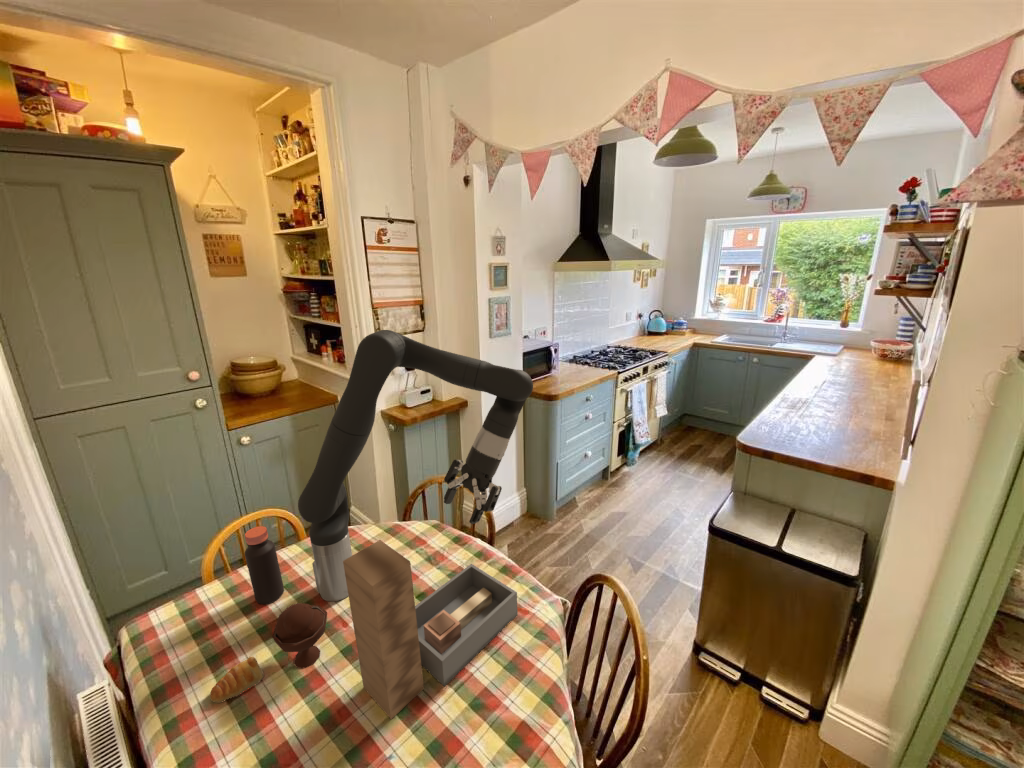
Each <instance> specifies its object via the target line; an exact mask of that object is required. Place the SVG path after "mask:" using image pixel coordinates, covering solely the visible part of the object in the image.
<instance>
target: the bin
mask: <svg viewBox="0 0 1024 768" xmlns="http://www.w3.org/2000/svg"><path fill="white" fill-rule="evenodd" d="M482 588H485V589H486V590H488V591H489V592H491V593H492V603H491V604H490V605H489V606H488V607H487V608H485V609H484V610H483V611H482V612H481V613H480V614H479V615H477V616H476V617H475V618H474V619H473V620H472V621H470V622H469V623H468V624H467V625H466V626H465V627H463V628H462V629H461V637H460V638H459V639H458V640H457V641H456V642H455V643H453V644H452V645H451V646H450V647H449V648H448V649H447V650H445V651H444V652H443V653H442V654H441V653H440V652H439V651H438V650H436V649H435V648H434V647H433V646H432V645H431V644H430V643H429V642H428V641H427V640H425V635H424V625H425V624H426V623H427V622H429V621H430V620H431V619H432V618H434V617H435V616H436V615H438V614H439V613H440V612H441V611H443V610H445V611H446V612H447V613H448V614H451V613H453V612H454V611H455V610H456V609H458V608H459V607H460V606H461V605H463V604H464V603H465V602H466V601H467V600H469V599H470V598H471V597H472V596H474V595H475V594H476V593H477V592H479V591H480V590H481V589H482ZM415 610H416V620H417V629H418V638H419V648H420V657H421V666H422V667H423V668H424V669H425V670H426V671H427V672H428V673H429V674H430V675H431V676H432V677H433V678H435V680H436V681H438V682H439V683H440V684H441V685H442V686H443V687H446V686H447V685H448V684H449V683H450V682H451V681H452V680H453V679H454V678H455V677H456V676H457V675H458V674H460V672H461V671H462V670H463V669H464V668H465V667H466V666H467V665H469V663H470V662H471V661H472V660H473V659H474V658H475V657H477V656H478V654H479V653H481V651H482V650H483V649H485V648H486V646H488V644H489V643H491V642H492V640H494V639H495V638H496V637H497V636H498V635H499V634H500V633H499V632H502V631H503V630H502V629H503V628H504V629H505V628H506V627H507V626H508V625H509V624H510V623H511V622H512V621H514V619H515V618H516V617H517V616H518V592H517V591H516V590H514V589H512V588H511V587H509V586H508V585H506V584H505V583H503V582H501V581H500V580H498V579H496V578H495V577H494V576H492V575H490V574H489V573H487V572H486V571H484V570H482V569H481V568H479V567H477V566H476V565H475V564H472V563H471V564H469V565H467V566H466V567H465V568H463V570H461V571H459V572H458V573H457V574H455V575H454V576H452V578H450V579H449V580H447V582H445V583H444V584H442V585H441V586H440V587H438V588H437V589H436V590H435V591H433V592H432V593H430V594H429V595H428V596H426V597H425V598H424V599H422V600H421V601H420V602H418V603H417V604H415ZM510 621H511V622H510ZM509 622H510V623H509ZM508 623H509V624H508ZM507 624H508V625H507ZM506 625H507V626H506ZM505 626H506V627H505ZM498 633H499V634H498Z"/></svg>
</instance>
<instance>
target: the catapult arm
mask: <svg viewBox="0 0 1024 768" xmlns="http://www.w3.org/2000/svg"><path fill="white" fill-rule="evenodd" d="M491 603H492V593H491V592H489V591H488V590H486V589H485V588H482V589H481V590H480V591H479V592H477V593H476V594H475V595H474V596H472V597H471V598H470V599H469V600H467V601H466V602H465V603H464V604H463V605H461V606H460V607H459V608H458V609H456V610H455V611H454V612H453V613H451V614H448V613H447V612H446V611H445V610H443V611H441V612H440V613H439V614H438V615H436V616H435V617H434V618H432V619H431V620H430V621H429V622H427V623H426V624H425V625H424V635H425V640H427V641H428V642H429V643H430V644H431V645H432V646H433V647H434V648H435V649H436V650H438V651H439V652H440V653H441V654H442V653H443V652H444V651H445V650H447V649H448V648H449V647H450V646H451V645H452V644H453V643H455V642H456V641H457V640H458V639H459V638H460V637H461V629H462V628H463V627H465V626H466V625H467V624H468V623H469V622H470V621H472V620H473V619H474V618H475V617H476V616H477V615H479V614H480V613H481V612H482V611H483V610H484V609H485V608H487V607H488V606H489V605H490V604H491Z"/></svg>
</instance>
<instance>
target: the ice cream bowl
mask: <svg viewBox="0 0 1024 768" xmlns="http://www.w3.org/2000/svg"><path fill="white" fill-rule="evenodd" d="M327 619H328V612H327V610H325V609H324V608H323V607H322V606H321V605H320V604H319V605H318V604H317V605H315V604H314V605H312V604H311V605H310V604H309V603H303V602H302V603H301V602H300V603H299V602H297V603H294V604H292V605H289V606H287V607H286V608H285V609H284V610H282V611H281V612H280V614H279V615H278V617H277V619H276V623H275V626H274V628H273V632H272V640H273V641H274V642H275V644H277V646H278V647H279V648H280V649H281V650H282V651H283V652H285V653H296V654H295V658H294V661H293V662H294V663H293V665H294V666H295V667H296V668H297V669H306V668H309V667H310V666H312V665H314V664H316V662H317V661H318V660H319V658H320V656H321V649H320V648H318V647H319V646H317V645H315V644H316V643H317V642H318V641H319V640H320V638H322V636H323V635H324V634H325V631H326V628H327V626H326V625H327Z"/></svg>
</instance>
